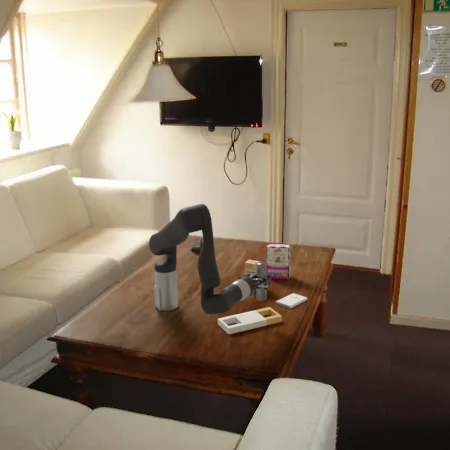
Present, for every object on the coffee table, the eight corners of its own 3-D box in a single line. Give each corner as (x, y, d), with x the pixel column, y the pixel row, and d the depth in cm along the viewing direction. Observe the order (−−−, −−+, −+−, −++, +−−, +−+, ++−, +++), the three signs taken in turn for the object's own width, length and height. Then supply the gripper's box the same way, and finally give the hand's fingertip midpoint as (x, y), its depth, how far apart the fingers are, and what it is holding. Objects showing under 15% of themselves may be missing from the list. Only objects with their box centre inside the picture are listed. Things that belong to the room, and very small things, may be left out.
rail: (228, 334, 226) (228, 328, 225) (217, 324, 234) (217, 318, 234) (281, 321, 235) (281, 316, 235) (269, 312, 244) (269, 306, 243)
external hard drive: (275, 304, 253) (292, 296, 262) (290, 309, 247) (307, 300, 256) (275, 301, 252) (292, 292, 261) (290, 306, 247) (307, 297, 256)
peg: (259, 301, 231) (259, 265, 227) (254, 297, 235) (254, 262, 231) (268, 299, 233) (268, 264, 229) (263, 296, 236) (263, 261, 232)
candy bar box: (290, 276, 284) (291, 244, 279) (289, 279, 279) (289, 247, 274) (268, 274, 286) (268, 242, 282) (266, 278, 282) (266, 246, 277)
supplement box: (244, 288, 269) (244, 262, 266) (248, 285, 273) (248, 259, 270) (260, 291, 266) (260, 264, 262) (264, 288, 270) (264, 261, 266)
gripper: (257, 283, 215) (280, 270, 228) (226, 276, 223) (250, 263, 236) (257, 302, 217) (280, 287, 231) (226, 294, 225) (250, 280, 238)
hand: (265, 275), depth 233 cm, fingers closed on peg, 4 cm apart
